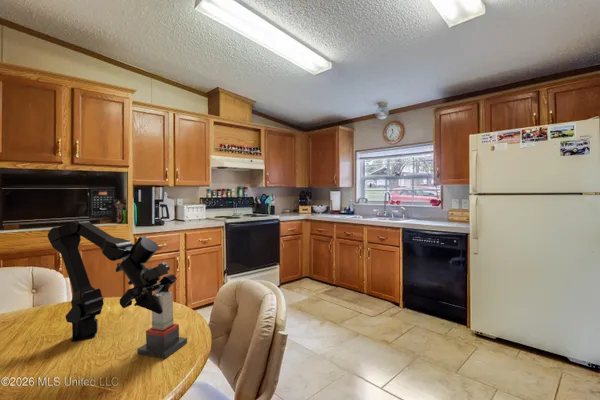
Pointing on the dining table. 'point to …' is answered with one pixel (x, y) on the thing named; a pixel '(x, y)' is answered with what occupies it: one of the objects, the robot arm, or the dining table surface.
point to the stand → (162, 342)
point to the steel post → (163, 311)
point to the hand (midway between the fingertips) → (166, 310)
